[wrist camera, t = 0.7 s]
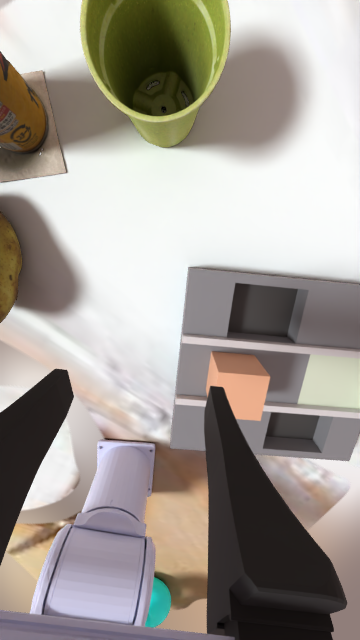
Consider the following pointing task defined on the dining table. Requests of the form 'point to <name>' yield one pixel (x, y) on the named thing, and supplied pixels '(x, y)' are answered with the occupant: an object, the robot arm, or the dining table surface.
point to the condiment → (26, 126)
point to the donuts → (158, 604)
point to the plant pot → (156, 59)
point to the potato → (8, 266)
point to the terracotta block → (240, 382)
